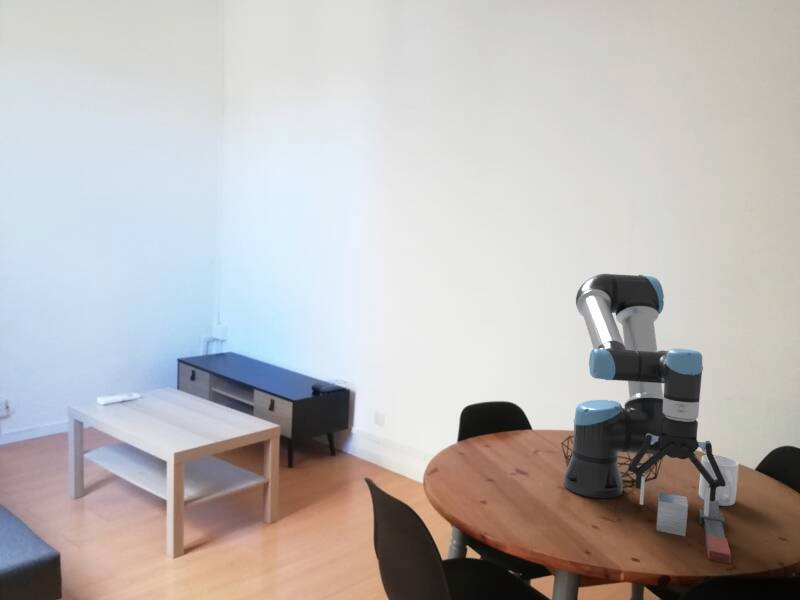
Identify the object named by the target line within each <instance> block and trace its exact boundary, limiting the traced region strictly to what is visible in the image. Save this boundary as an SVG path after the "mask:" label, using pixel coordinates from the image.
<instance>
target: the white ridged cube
mask: <svg viewBox="0 0 800 600" xmlns="http://www.w3.org/2000/svg"><path fill="white" fill-rule="evenodd" d="M688 509H689V504H688V497H687V496H684V495H679V494H678V495H677V494H671V493H667V492H661V491H658V501H657V511H656V531H657V532H662V533H667V534H672V535H677V536H682V537H686V533H687V521H688Z"/></svg>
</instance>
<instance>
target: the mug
mask: <svg viewBox="0 0 800 600" xmlns="http://www.w3.org/2000/svg"><path fill="white" fill-rule="evenodd" d="M713 456H714V458H715V460H716V462H717V465H718V467H719V469H720V471H721V473H722V476H723V478H724V480H725V483H726V485H725V486H724V487H722V486H719V487H717V488H716V495H715V497H718V498H719V507H729V506H734V504H735V503H736V498H737V488H738V480H739V469H740V463H739V462H738V460H735V459H734V458H731V457H727V456H724V455H718V454H713ZM700 462H701V463H702V465H703V466H704V467H705V468H706V470H707V471H708V472H709V474H710V475H711V476H712V478H713V479H714V480H716V479H717V477H716V475H715V473H714V471H713V468H712V466H711V464H710V462H709V459H708V457H707V454H704V455H702V456H701V461H700ZM698 484H699V485H698V497H699V498H700V499H701V500H702V501H703V502H704V501H705V488H706V484H709V483H708V482H707V481H706V480H705V478H704V477H703V476H702V474H701V473H700V472H699V483H698Z"/></svg>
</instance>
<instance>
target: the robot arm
mask: <svg viewBox="0 0 800 600" xmlns="http://www.w3.org/2000/svg"><path fill="white" fill-rule="evenodd" d="M664 295H665V294H664V289H663V287H662V284H661V282H660V280H659V279H658V278H656V277H654V276H650V275H649V276H648V275H643V274H638V275H636V274H635V275H634V274H633V275H632V274H616V273H614V274H613V273H611V274H610V273H600V274H597V275H594V276H592V277H590V278H588V279H587V280H586V281H584V282H583V283H582V284H581V286H580V287H579V289H578V290H577V293H576V296H575V305H576V309H577V312H578V313H579V314H580V315H581V316H582V317H583V319H584V321H585V326H586V329H587V332H588V335H589V338H590V341H591V344H592V348H593V349H592V350H591V351H590V353H589V359H588V367H589V373H590V376H591V377H592V378H593V379H599V380H605V381H622V382H624V381H626V382H627V385H628V395H629V396H628V397H629V399H627V400H626V402H625V403H624V407H623V406H622V404H621V403H620V402H619V401H616V400H608V399H593V400H587V401H583V402H581V403H579V404H578V405H577V406H576V408H575V413H574V417H573V425H574V426H573V436H572V437H573V438H572V450H571V452H572V453H571V458H570V461H569V462H568V465H567V468H566V470H565V472H564V474H563V487H565V488H566V489H567V490H569V491H570V492H572V493H575V494H577V495H580V496H583V497H588V498H593V499H614V498H618V497H620V496H621V495H622V494H623V479H622V476H621V472H620V468H619V464H618V459H619V458H618V457H619V453H628V454H635V455H634V457H633V458H632V460H631V461H630V463H629V465H628V471H629V472H631V473H634V474H635V488H636V489H637V490H639V491H640V494H639V505H644V497H645V484H646V472H647V471H648V470H649V469H650V468H651V467H653V466H654V465H655V464H657V463H658V462H659V461H660V460H662V459H663V458H664V457H665V456H668V457H669V458H670V459H671V458H672V459H676V458H677V459H679V460H684V461H685V460H686V459H689V461H690V462H691V463H692V464H693V465H694V466H695V468H696V469H697V470H698V472H699V474H700V473H701V474H702V476H703V477H704V478H705V480H706V481H707V482H708V483H709V484H706V488H705V501H704V500H703V502H704V504H703V509H704V516H708V513H709V501H713V502H714V501H715V495H716V488H717V487H719V486H722V487H724V486H725V485H726V483H725V480H724V478H723V476H722V473H721V471H720V469H719V467H718V465H717V462H716V460H715V458H714V456H713V455H714V454H713V446H712V443H711V441H710V440H706V441H698V438H697V437H698V428H699V427H698V425H699V422H698V420H697V419H698V418H699V410H700V399H701V387H702V377H703V375H702V374H703V369H704V367H703V355H702V353H701V352H700V351H697V350H694V349H693V350H692V349H686V348H671V349H668V350H658V346H657V338H656V332H655V323H654V322H655V321H656V320H657V319H659V315H660V314H661V313H662V311H663V309H664V305H665V304H664V303H665V302H664V299H665V296H664ZM613 314H615V318H614V315H613ZM615 319H616V320H615ZM616 321H617V323H619V324H620V325H622V333H623V338H622V335H621V333H620V330H619V328H618V325H617V323H616ZM662 384H663V385H662ZM698 448H700V449H701V450H702V451H701V452H703V453H705V455H707V457H708V459H709V462H710V464H711V466H712V468H713V471H714V473H715V475H716V477H717V479H716V480H714V479H713V478H712V476H711V475H710V474H709V472H708V471H707V470H706V468H705V467H704V466H703V465H702V463H701V461H700V459H699V458H698V457H697V455H696V453H695V452H696V451H697V449H698ZM645 455H651V456H650V457H649V458H648V459H646V461H644V462H643V463H641V465H640V466H638V465H639V464H640V462H641V460H642V459H643V458H644V456H645Z"/></svg>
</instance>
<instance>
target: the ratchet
mask: <svg viewBox="0 0 800 600" xmlns="http://www.w3.org/2000/svg"><path fill="white" fill-rule="evenodd" d="M719 510H720V505H719V498H718V497H715V501H714V502H713V501H709V513H708V516H704V508H703V509H702V508H699V511H698V519H699V525H700V526H703V530H704V535H705V547H706V553H707V558H708V560H710V561H713V562H719V563H724V564H728V565H730V564H731V560H732V559H731V558H732V554H731V549H730V546H729V541H728V538H727V537H726V533H725V522H726V521H725V518H724V517H725V516H724V513H723V512H720V511H719Z"/></svg>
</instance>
